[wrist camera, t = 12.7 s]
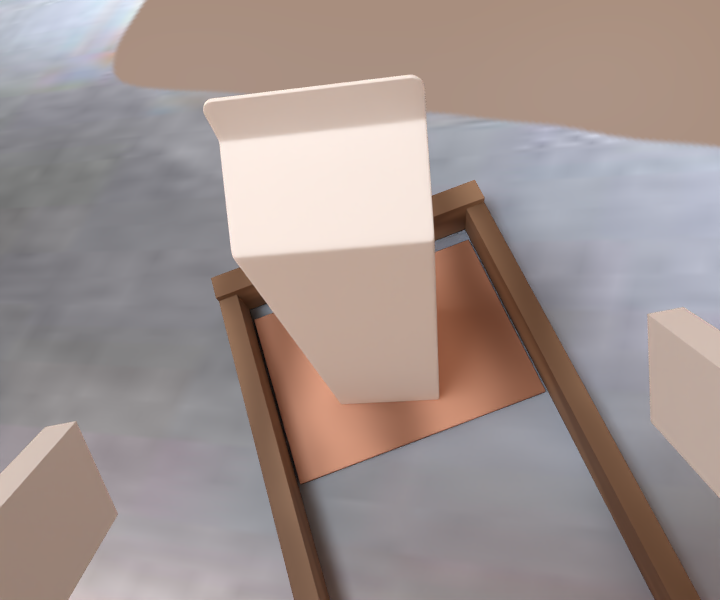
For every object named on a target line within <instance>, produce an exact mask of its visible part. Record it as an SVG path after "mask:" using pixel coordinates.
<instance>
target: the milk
mask: <svg viewBox="0 0 720 600" xmlns="http://www.w3.org/2000/svg"><path fill="white" fill-rule="evenodd" d="M203 112H204V115H205V116H206V118H207V120H208V122H209V124H210V126H211V127H212V129H213V131H214V133H215V135H216V136H217V138H218V140H219V143H220V153H221V162H222V171H223V180H224V189H225V198H226V207H227V216H228V226H229V235H230V244H231V252H232V256H233V258H234V260H235V261H236V262H237V264H238V265H239V266H240V268H241V269H242V270H243V272H244V273H245V275H246V276H247V277H248V279H249V280H250V281H251V283H252V284H253V285H254V287H255V288H256V289H257V291H258V292H259V294H260V295H261V296H262V298H263V299H264V300H265V302H266V303H267V304H268V306H269V307H270V308H271V310H272V311H273V312H274V314H275V315H276V317H277V318H278V319H279V321H280V322H281V323H282V325H283V326H284V327H285V329H286V330H287V331H288V333H289V334H290V336H291V337H292V338H293V340H294V341H295V342H296V344H297V345H298V346H299V348H300V349H301V350H302V352H303V353H304V355H305V356H306V357H307V359H308V360H309V361H310V363H311V364H312V365H313V367H314V368H315V369H316V371H317V372H318V374H319V375H320V376H321V378H322V379H323V380H324V382H325V383H326V384H327V386H328V387H329V388H330V390H331V391H332V393H333V394H334V395H335V397H336V398H337V399H338V401H339V402H340V403H341V404H358V403H378V402H398V401H418V400H437V399H439V368H438V336H437V304H436V271H435V239H434V223H433V208H432V194H431V180H430V165H429V151H428V137H427V123H426V101H425V86H424V83H423V81H422V80H421V79H420V78H419V77H417V76H415V75H404V76H395V77H387V78H379V79H370V80H362V81H355V82H346V83H337V84H329V85H321V86H313V87H304V88H296V89H289V90H280V91H271V92H264V93H255V94H246V95H238V96H230V97H222V98H214V99H209V100H207V101H206V102H205V104H204V107H203Z"/></svg>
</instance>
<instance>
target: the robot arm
mask: <svg viewBox="0 0 720 600" xmlns="http://www.w3.org/2000/svg"><path fill="white" fill-rule="evenodd" d="M647 316H648V350H649V383H650V416H651V422H652V423H653V425H654V426H655V427H656V428H657V429H658V430H659V431H660V432H661V433H662V435H663V436H664V437H665V438H666V439H667V440H668V441H669V442H670V443H671V445H672V446H673V447H674V448H675V449H676V450H677V451H678V452H679V453H680V455H681V456H682V457H683V458H684V459H685V460H686V461H687V462H688V463H689V465H690V466H691V467H692V468H693V469H694V470H695V471H696V472H697V473H698V475H699V476H700V477H701V478H702V479H703V480H704V481H705V482H706V483H707V485H708V486H709V487H710V488H711V489H712V490H713V491H714V492H715V493H716V495H717V496H718V497H719V498H720V330H718V329H717V328H715V327H714V326H712V325H710V324H709V323H707V322H706V321H704V320H703V319H701V318H700V317H698V316H696V315H695V314H693V313H692V312H690V311H689V310H687V309H686V308H684V307H682V308H677V309H671V310H666V311H661V312H655V313H650V314H647ZM117 515H118V513H117V511H116V508H115V506H114V504H113V502H112V500H111V497H110V495H109V493H108V491H107V489H106V486H105V484H104V482H103V480H102V478H101V475H100V473H99V471H98V469H97V466H96V464H95V462H94V460H93V458H92V455H91V453H90V451H89V449H88V447H87V444H86V442H85V440H84V438H83V436H82V433H81V431H80V429H79V427H78V424H77V422H76V421H75V422H70V423H64V424H59V425H54V426H48V427H45V428H44V429H43V430H42V431H41V432H40V433H39V434H38V435H37V436H36V437H35V438H34V439H33V440H32V441H31V443H30V444H29V445H28V446H27V447H26V448H25V449H24V450H23V451H22V452H21V453H20V454H19V455H18V456H17V457H16V458H15V459H14V460H13V461H12V462H11V463H10V464H9V465H8V467H7V468H6V469H5V470H4V471H3V472H2V473H1V474H0V600H68V599H69V597H70V596H71V594H72V592H73V591H74V589H75V587H76V585H77V584H78V582H79V580H80V578H81V577H82V575H83V573H84V572H85V570H86V568H87V566H88V565H89V563H90V561H91V560H92V558H93V556H94V554H95V553H96V551H97V549H98V548H99V546H100V544H101V542H102V541H103V539H104V537H105V536H106V534H107V532H108V530H109V529H110V527H111V525H112V524H113V522H114V520H115V518H116V517H117Z"/></svg>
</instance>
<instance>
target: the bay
mask: <svg viewBox="0 0 720 600" xmlns="http://www.w3.org/2000/svg"><path fill="white" fill-rule="evenodd" d="M432 208H433V223H434V239H435V240H437V239H440V238H443V237H445V236H448V235H451V234H453V233H456V232H459V231H461V230H464V229H465V230H466V232H467V234H468V236H469V238H470V240H471V242H472V244H473V246H474V248H475V250H476V251H477V253H478V255H479V257H480V259H481V261H482V263H483V265H484V267H485V269H486V271H487V273H488V275H489V277H490V279H491V281H492V283H493V285H494V287H495V289H496V291H497V292H498V294H499V296H500V298H501V300H502V302H503V304H504V306H505V308H506V310H507V312H508V314H509V316H510V318H511V320H512V322H513V324H514V326H515V328H516V330H517V331H518V333H519V335H520V337H521V339H522V341H523V343H524V345H525V347H526V349H527V351H528V353H529V355H530V357H531V359H532V361H533V363H534V365H535V367H536V369H537V371H538V372H539V374H540V376H541V378H542V380H543V382H544V384H545V386H546V388H547V390H548V392H549V394H550V396H551V398H552V400H553V402H554V404H555V406H556V408H557V410H558V412H559V413H560V415H561V417H562V419H563V421H564V423H565V425H566V427H567V429H568V431H569V433H570V435H571V437H572V439H573V441H574V443H575V445H576V447H577V449H578V451H579V453H580V454H581V456H582V458H583V460H584V462H585V464H586V466H587V468H588V470H589V472H590V474H591V476H592V478H593V480H594V482H595V484H596V486H597V488H598V490H599V492H600V494H601V495H602V497H603V499H604V501H605V503H606V505H607V507H608V509H609V511H610V513H611V515H612V517H613V519H614V521H615V523H616V525H617V527H618V529H619V531H620V533H621V534H622V536H623V538H624V540H625V542H626V544H627V546H628V548H629V550H630V552H631V554H632V556H633V558H634V560H635V562H636V564H637V566H638V568H639V570H640V572H641V574H642V575H643V577H644V579H645V581H646V583H647V585H648V587H649V589H650V591H651V593H652V595H653V597H654V599H655V600H701V599H700V597H699V595H698V594H697V592H696V590H695V588H694V586H693V584H692V583H691V581H690V579H689V577H688V575H687V573H686V572H685V570H684V568H683V566H682V564H681V562H680V561H679V559H678V557H677V555H676V553H675V551H674V550H673V548H672V546H671V544H670V542H669V540H668V539H667V537H666V535H665V533H664V531H663V529H662V528H661V526H660V524H659V522H658V520H657V518H656V517H655V515H654V513H653V511H652V509H651V507H650V506H649V504H648V502H647V500H646V498H645V496H644V495H643V493H642V491H641V489H640V487H639V485H638V484H637V482H636V480H635V478H634V476H633V474H632V473H631V471H630V469H629V467H628V465H627V463H626V462H625V460H624V458H623V456H622V454H621V452H620V451H619V449H618V447H617V445H616V443H615V441H614V440H613V438H612V436H611V434H610V432H609V430H608V429H607V427H606V425H605V423H604V421H603V419H602V418H601V416H600V414H599V412H598V410H597V408H596V407H595V405H594V403H593V401H592V399H591V397H590V396H589V394H588V392H587V390H586V388H585V386H584V385H583V383H582V381H581V379H580V377H579V375H578V374H577V372H576V370H575V368H574V366H573V364H572V363H571V361H570V359H569V357H568V355H567V353H566V352H565V350H564V348H563V346H562V344H561V342H560V341H559V339H558V337H557V335H556V333H555V331H554V330H553V328H552V326H551V324H550V322H549V320H548V319H547V317H546V315H545V313H544V311H543V309H542V308H541V306H540V304H539V302H538V300H537V298H536V297H535V295H534V293H533V291H532V289H531V287H530V286H529V284H528V282H527V280H526V278H525V276H524V275H523V273H522V271H521V269H520V267H519V265H518V264H517V262H516V260H515V258H514V256H513V254H512V253H511V251H510V249H509V247H508V245H507V243H506V242H505V240H504V238H503V236H502V234H501V232H500V231H499V229H498V227H497V225H496V223H495V221H494V220H493V218H492V216H491V214H490V212H489V210H488V209H487V207H486V205H485V203H484V196H483V194H482V192H481V190H480V189H479V187H478V185H477V183H476V181H475V180H473V181H470V182H468V183H465V184H462V185H459V186H457V187H454V188H451V189H449V190H446V191H443V192H441V193H438V194H435V195H433V196H432ZM435 271H436V304H437V336H438V368H439V399H437V400H418V401H398V402H378V403H358V404H341V403H340V402H339V401H338V399H337V398H336V397H335V395H334V394H333V393H332V391H331V390H330V388H329V387H328V386H327V384H326V383H325V382H324V380H323V379H322V378H321V376H320V375H319V374H318V372H317V371H316V369H315V368H314V367H313V365H312V364H311V363H310V361H309V360H308V359H307V357H306V356H305V355H304V353H303V352H302V350H301V349H300V348H299V346H298V345H297V344H296V342H295V341H294V340H293V338H292V337H291V336H290V334H289V333H288V331H287V330H286V329H285V327H284V326H283V325H282V323H281V322H280V321H279V319H278V318H277V317H276V315H275V314H274V313H271V314H269V315H266V316H263V317H261V318H258V319H255V324H256V327H257V331H258V334H259V338H260V341H261V345H262V349H263V352H264V356H265V359H266V363H267V367H268V370H269V374H270V377H271V381H272V384H273V388H274V392H275V395H276V399H277V402H278V406H279V409H280V413H281V417H282V420H283V424H284V427H285V431H286V435H287V438H288V442H289V445H290V449H291V452H292V456H293V460H294V463H295V467H296V470H297V474H298V477H299V481H300V484H304V483H306V482H309V481H312V480H314V479H317V478H320V477H322V476H325V475H327V474H330V473H333V472H335V471H338V470H341V469H343V468H346V467H349V466H351V465H354V464H356V463H359V462H362V461H364V460H367V459H370V458H372V457H375V456H378V455H380V454H383V453H385V452H388V451H391V450H393V449H396V448H399V447H401V446H404V445H407V444H409V443H412V442H415V441H417V440H420V439H422V438H425V437H428V436H430V435H433V434H436V433H438V432H441V431H444V430H446V429H449V428H451V427H454V426H457V425H459V424H462V423H465V422H467V421H470V420H473V419H475V418H478V417H480V416H483V415H486V414H488V413H491V412H494V411H496V410H499V409H502V408H504V407H507V406H509V405H512V404H515V403H517V402H520V401H523V400H525V399H528V398H531V397H533V396H536V395H539V394H541V393H544V392H545V389H544V387H543V385H542V383H541V381H540V379H539V377H538V375H537V373H536V371H535V369H534V367H533V365H532V363H531V361H530V359H529V357H528V355H527V353H526V351H525V349H524V347H523V346H522V344H521V342H520V340H519V338H518V336H517V334H516V332H515V330H514V328H513V326H512V324H511V322H510V320H509V318H508V316H507V314H506V312H505V310H504V308H503V306H502V304H501V302H500V300H499V298H498V297H497V295H496V293H495V291H494V289H493V287H492V285H491V283H490V281H489V279H488V277H487V275H486V273H485V271H484V269H483V267H482V265H481V263H480V261H479V259H478V257H477V255H476V253H475V251H474V250H473V248H472V246H471V244H470V242H469V240H466V241H464V242H461V243H458V244H456V245H453V246H450V247H448V248H445V249H442V250H440V251H437V252H435ZM211 280H212V284H213V288H214V292H215V296H216V298H217V300H218V301H219V303H220V307H221V311H222V315H223V319H224V323H225V327H226V331H227V335H228V339H229V343H230V347H231V351H232V355H233V359H234V363H235V367H236V370H237V374H238V378H239V382H240V386H241V390H242V394H243V398H244V402H245V406H246V410H247V414H248V418H249V422H250V426H251V430H252V434H253V438H254V442H255V446H256V450H257V454H258V458H259V462H260V466H261V470H262V474H263V478H264V482H265V486H266V490H267V494H268V498H269V502H270V506H271V510H272V514H273V518H274V522H275V526H276V530H277V534H278V538H279V541H280V545H281V549H282V553H283V557H284V561H285V565H286V569H287V573H288V577H289V581H290V585H291V589H292V593H293V597H294V600H330V598H329V595H328V591H327V587H326V584H325V580H324V577H323V573H322V569H321V566H320V562H319V558H318V555H317V551H316V548H315V544H314V540H313V537H312V533H311V530H310V526H309V522H308V519H307V515H306V512H305V508H304V504H303V501H302V497H301V494H300V490H299V486H298V483H297V479H296V476H295V472H294V468H293V465H292V461H291V458H290V454H289V450H288V447H287V443H286V439H285V436H284V432H283V429H282V425H281V421H280V418H279V414H278V411H277V407H276V403H275V400H274V396H273V393H272V389H271V385H270V382H269V378H268V375H267V371H266V367H265V364H264V360H263V357H262V353H261V349H260V346H259V342H258V339H257V335H256V331H255V328H254V324H253V321H252V317H251V313H250V309H253V308H256V307H258V306H261V305H264V304H266V302H265V300H264V299H263V298H262V296H261V295H260V294H259V292H258V291H257V289H256V288H255V287H254V285H253V284H252V283H251V281H250V280H249V279H248V277H247V276H246V275H245V273H244V272H243V270H242V269H241V268H237V269H234V270H232V271H229V272H226V273H224V274H221V275H218V276H216V277H213V278H211Z"/></svg>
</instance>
